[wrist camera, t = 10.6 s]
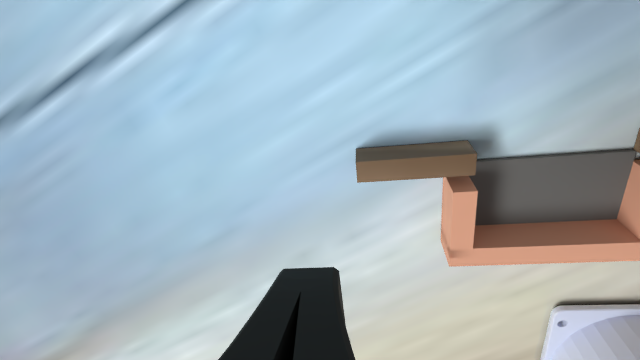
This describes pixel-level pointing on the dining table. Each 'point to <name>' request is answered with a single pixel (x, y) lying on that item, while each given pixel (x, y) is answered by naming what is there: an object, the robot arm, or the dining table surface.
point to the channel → (420, 161)
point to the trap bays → (544, 210)
